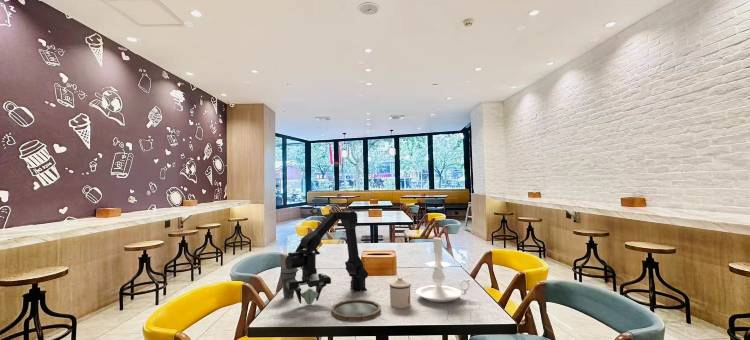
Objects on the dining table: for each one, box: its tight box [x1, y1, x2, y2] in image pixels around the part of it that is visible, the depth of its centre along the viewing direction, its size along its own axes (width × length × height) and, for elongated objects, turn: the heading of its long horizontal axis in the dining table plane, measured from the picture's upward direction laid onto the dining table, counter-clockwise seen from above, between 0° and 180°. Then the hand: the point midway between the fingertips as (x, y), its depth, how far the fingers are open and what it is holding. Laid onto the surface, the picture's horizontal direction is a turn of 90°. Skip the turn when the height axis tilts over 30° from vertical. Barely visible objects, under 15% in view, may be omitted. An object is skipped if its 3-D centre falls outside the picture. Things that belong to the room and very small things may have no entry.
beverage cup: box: [280, 264, 298, 299], centre depth 157 cm, size 7×7×20 cm
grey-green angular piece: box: [301, 287, 319, 305], centre depth 146 cm, size 8×4×7 cm, turn 96°
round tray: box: [330, 298, 382, 322], centre depth 137 cm, size 20×20×2 cm
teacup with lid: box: [389, 276, 411, 309], centre depth 145 cm, size 12×9×12 cm
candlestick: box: [415, 236, 471, 303], centre depth 152 cm, size 21×25×28 cm
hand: (308, 302), depth 145 cm, fingers closed on grey-green angular piece, 7 cm apart
